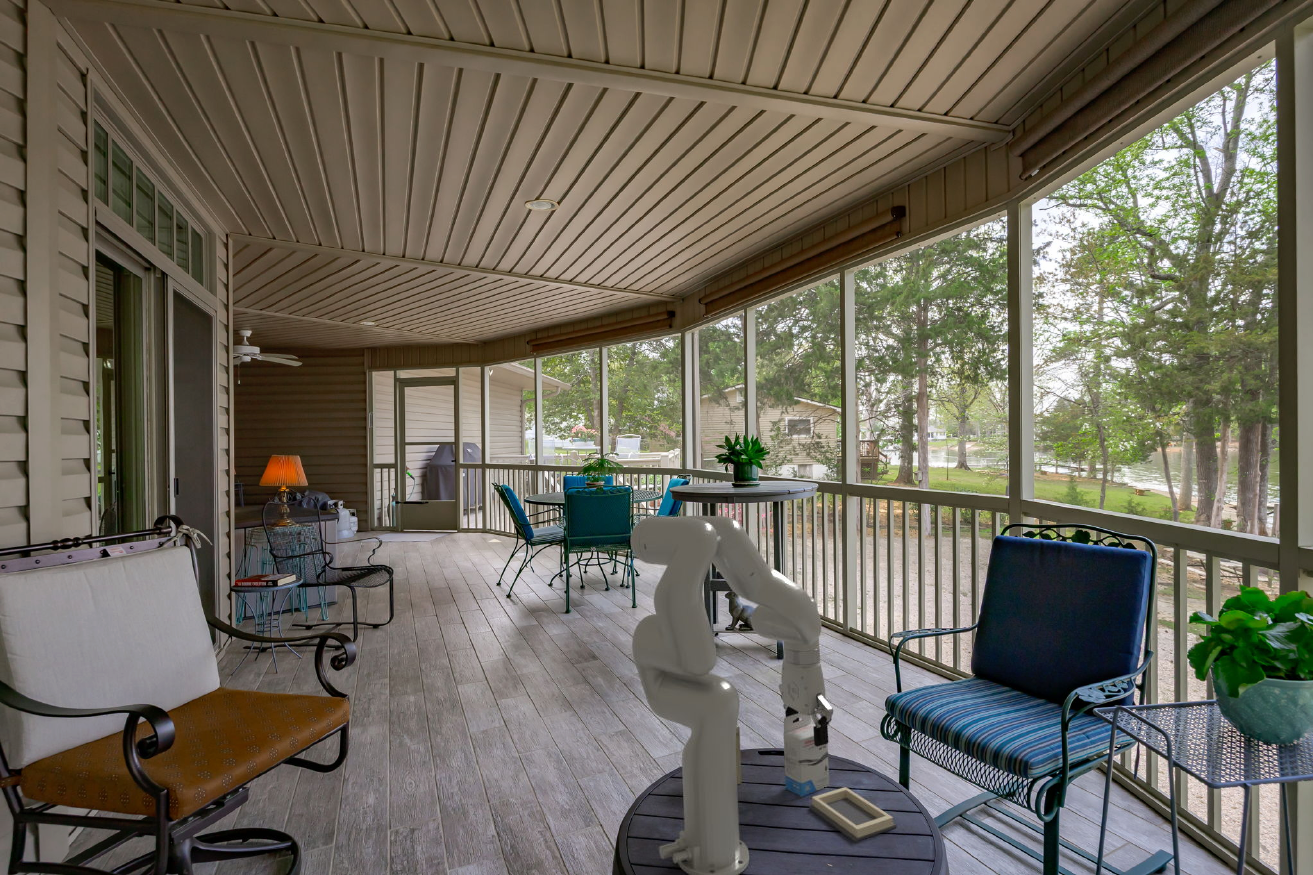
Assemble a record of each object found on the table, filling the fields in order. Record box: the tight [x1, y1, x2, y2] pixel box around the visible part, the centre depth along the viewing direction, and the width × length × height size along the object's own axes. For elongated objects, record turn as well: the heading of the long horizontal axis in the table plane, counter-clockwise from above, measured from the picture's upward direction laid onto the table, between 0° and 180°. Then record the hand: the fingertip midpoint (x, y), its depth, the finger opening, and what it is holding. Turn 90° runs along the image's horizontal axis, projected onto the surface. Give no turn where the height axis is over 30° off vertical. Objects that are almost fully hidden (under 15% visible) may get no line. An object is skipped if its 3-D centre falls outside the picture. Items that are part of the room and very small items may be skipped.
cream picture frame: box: [808, 786, 897, 843], centre depth 123 cm, size 10×13×2 cm
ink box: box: [783, 712, 830, 798], centre depth 136 cm, size 8×5×15 cm, turn 123°
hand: (806, 735), depth 136 cm, fingers open, 9 cm apart
